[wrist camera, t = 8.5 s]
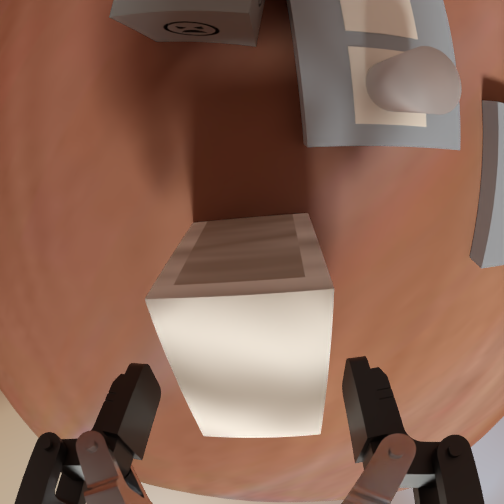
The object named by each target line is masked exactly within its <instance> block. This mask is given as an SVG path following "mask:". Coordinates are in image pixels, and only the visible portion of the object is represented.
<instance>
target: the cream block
mask: <svg viewBox="0 0 504 504" xmlns="http://www.w3.org/2000/svg"><path fill="white" fill-rule="evenodd" d="M145 301H146V304H147V307H148V310H149V312H150V315H151V318H152V321H153V323H154V326H155V329H156V331H157V334H158V336H159V339H160V341H161V344H162V346H163V349H164V351H165V354H166V356H167V359H168V361H169V363H170V366H171V368H172V371H173V373H174V375H175V377H176V380H177V382H178V384H179V386H180V389H181V391H182V393H183V395H184V397H185V399H186V401H187V404H188V406H189V408H190V410H191V412H192V414H193V416H194V418H195V420H196V422H197V424H198V426H199V428H200V430H201V432H202V434H203V436H212V437H239V438H264V437H290V436H305V435H316V434H320V433H321V427H322V420H323V412H324V405H325V397H326V388H327V379H328V369H329V359H330V347H331V334H332V320H333V302H334V287H333V284H332V281H331V278H330V275H329V271H328V268H327V265H326V263H325V260H324V257H323V254H322V251H321V248H320V245H319V242H318V239H317V236H316V234H315V231H314V228H313V225H312V223H311V220H310V217H309V214H308V213H299V214H285V215H272V216H260V217H248V218H237V219H226V220H215V221H205V222H195V223H193V224H192V225H191V227H190V228H189V230H188V231H187V233H186V234H185V236H184V237H183V239H182V240H181V242H180V243H179V245H178V246H177V248H176V249H175V251H174V253H173V254H172V256H171V257H170V259H169V260H168V262H167V264H166V265H165V267H164V268H163V270H162V272H161V273H160V275H159V276H158V278H157V280H156V281H155V283H154V285H153V286H152V288H151V289H150V291H149V293H148V294H147V296H146V298H145Z"/></svg>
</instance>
